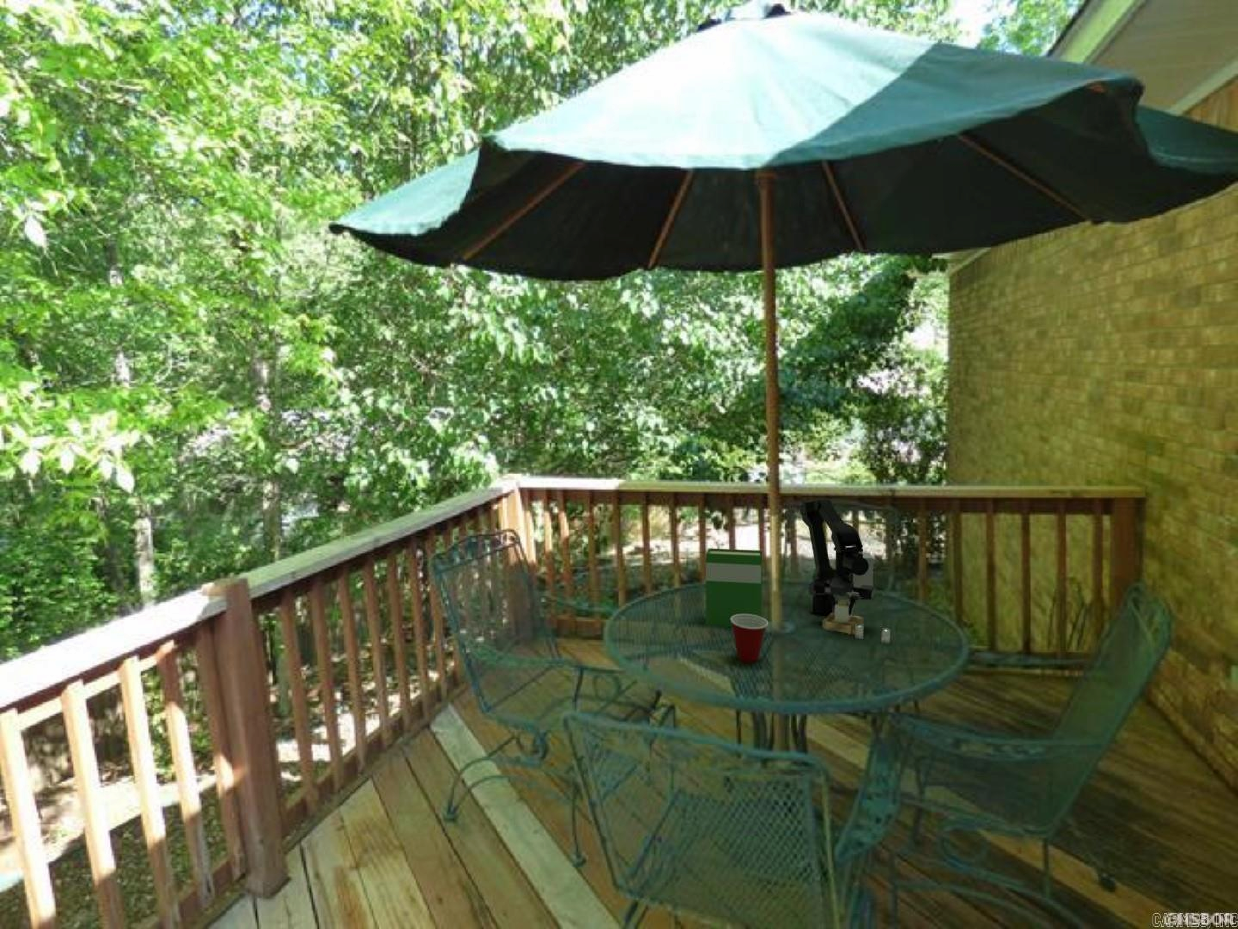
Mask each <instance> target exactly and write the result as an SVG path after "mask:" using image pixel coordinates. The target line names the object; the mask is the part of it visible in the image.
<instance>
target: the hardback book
mask: <svg viewBox="0 0 1238 929" xmlns="http://www.w3.org/2000/svg"><path fill="white" fill-rule="evenodd" d="M762 586H763V550H758V549H737V548H736V549H735V548H734V549H733V548H731V549H730V548H715V547H714V548H710V547H708V548H707V551H706V553H705V625H706V626H715V627H730V628H731V627H732V628H733V626H732V622H731V619H730V618H731V617H732V616H734V615H737V614H751V615H757V616H760V617H762V599H763V597H762V596H763V595H762V594H763V593H762V591H763V590H762V589H763V587H762Z"/></svg>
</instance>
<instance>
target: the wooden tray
mask: <svg viewBox="0 0 1238 929" xmlns="http://www.w3.org/2000/svg"><path fill="white" fill-rule="evenodd" d="M856 624H862V625H863V626H864V617H862V616H859V615H853V614H852V615H851V619H850V620H849V621H848V622H843V621H837V620H835V612H833V613H831V614H830V615H829V616H826V617H825V618H824V619H823V620H822V624H821V625H822V626H821V628H822V627H825V628H826V629H829V630H834V631H839V632H846V633H848V634H847V635H850V634H851V635H854V636H855V625H856Z"/></svg>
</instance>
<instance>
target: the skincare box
mask: <svg viewBox="0 0 1238 929" xmlns="http://www.w3.org/2000/svg"><path fill="white" fill-rule="evenodd" d="M861 553H862V554H863V558H865V559H866V560H867V561H868V564H869V568H868V571H867V572H866V573H865V574H864V575H861V576H858V575H855V574H854V579H853V581H854V587H861V586H862V585H869V586H874V585H873V582H874V580H873V579H874V557H873V556H872V555H871V553H869V552H861ZM846 595H847V596H848V595H849V596H848V598H849V597H850V596H851V595H852V592H846Z"/></svg>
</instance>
